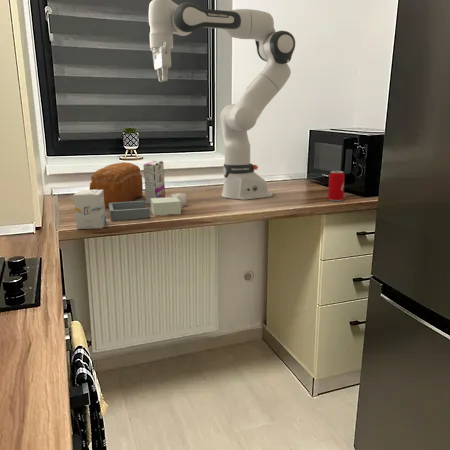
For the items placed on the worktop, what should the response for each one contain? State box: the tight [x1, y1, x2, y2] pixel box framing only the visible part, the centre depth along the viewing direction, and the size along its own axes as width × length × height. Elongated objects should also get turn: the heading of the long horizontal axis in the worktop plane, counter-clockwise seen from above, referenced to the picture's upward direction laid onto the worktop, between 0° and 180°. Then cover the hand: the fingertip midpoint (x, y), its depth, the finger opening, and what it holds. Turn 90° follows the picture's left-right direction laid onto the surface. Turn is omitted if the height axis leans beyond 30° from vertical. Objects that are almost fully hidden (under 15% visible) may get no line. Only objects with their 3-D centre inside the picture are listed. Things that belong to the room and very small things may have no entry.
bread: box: [89, 162, 144, 209], centre depth 188 cm, size 14×26×16 cm, turn 168°
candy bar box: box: [143, 160, 166, 205], centre depth 186 cm, size 11×5×16 cm, turn 168°
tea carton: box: [150, 196, 182, 216], centre depth 170 cm, size 10×9×5 cm
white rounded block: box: [170, 192, 187, 208], centre depth 181 cm, size 6×6×4 cm
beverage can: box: [327, 170, 346, 202], centre depth 186 cm, size 6×6×12 cm
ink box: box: [72, 189, 107, 230], centre depth 151 cm, size 9×8×12 cm
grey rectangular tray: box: [108, 200, 151, 222], centre depth 166 cm, size 14×14×4 cm
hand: (163, 81), depth 177 cm, fingers open, 8 cm apart
